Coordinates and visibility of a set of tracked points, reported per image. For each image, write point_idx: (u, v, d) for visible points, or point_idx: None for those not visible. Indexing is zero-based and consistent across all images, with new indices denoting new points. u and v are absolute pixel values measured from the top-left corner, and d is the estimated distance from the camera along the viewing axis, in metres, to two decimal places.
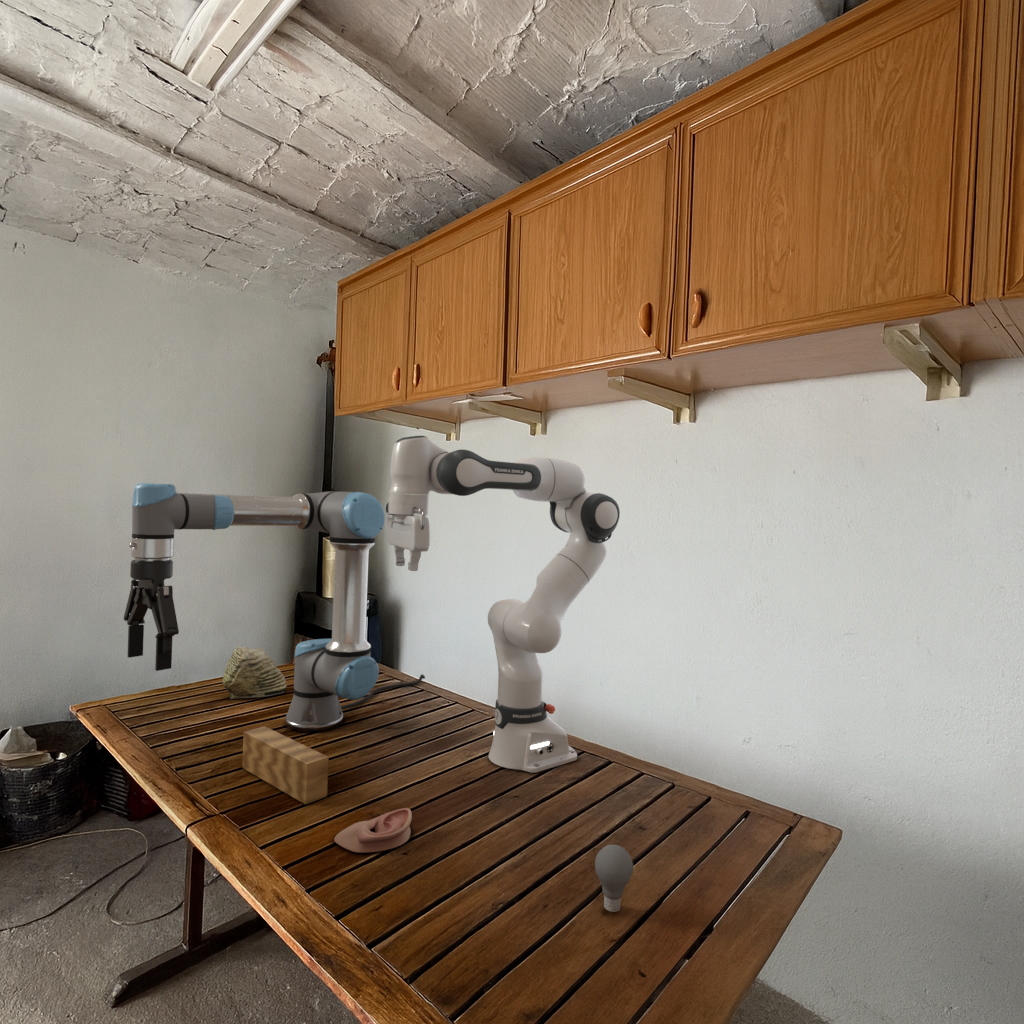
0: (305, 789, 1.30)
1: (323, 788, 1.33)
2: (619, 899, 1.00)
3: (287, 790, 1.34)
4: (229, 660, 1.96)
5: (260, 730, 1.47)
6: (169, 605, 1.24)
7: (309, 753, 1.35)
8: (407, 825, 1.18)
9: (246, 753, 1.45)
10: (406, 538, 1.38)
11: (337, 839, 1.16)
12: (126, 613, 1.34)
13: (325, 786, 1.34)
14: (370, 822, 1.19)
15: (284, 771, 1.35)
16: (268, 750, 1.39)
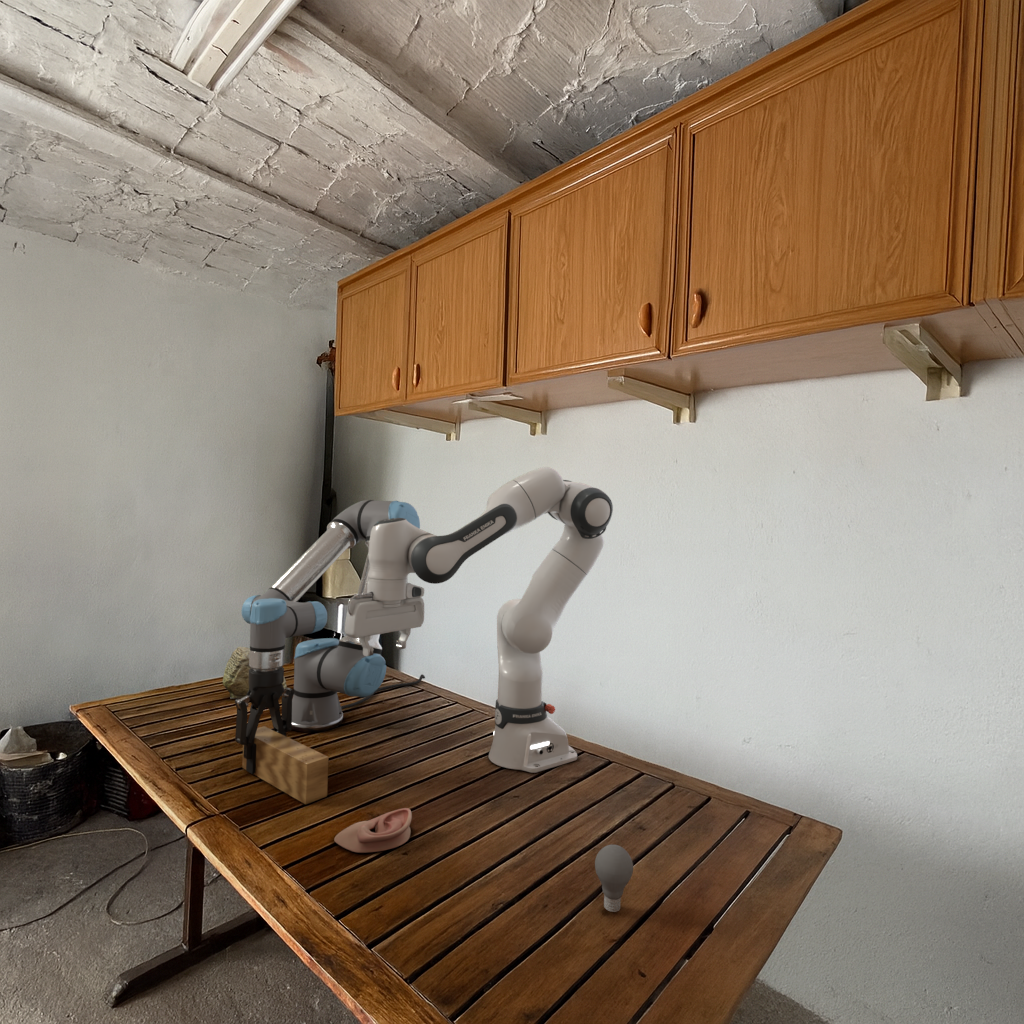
0: (305, 789, 1.30)
1: (323, 788, 1.33)
2: (619, 899, 1.00)
3: (287, 790, 1.34)
4: (229, 660, 1.96)
5: (260, 730, 1.47)
6: None
7: (309, 753, 1.35)
8: (407, 825, 1.18)
9: None
10: None
11: (337, 839, 1.16)
12: (243, 736, 1.40)
13: (325, 786, 1.34)
14: (370, 822, 1.19)
15: (284, 771, 1.35)
16: (268, 750, 1.39)
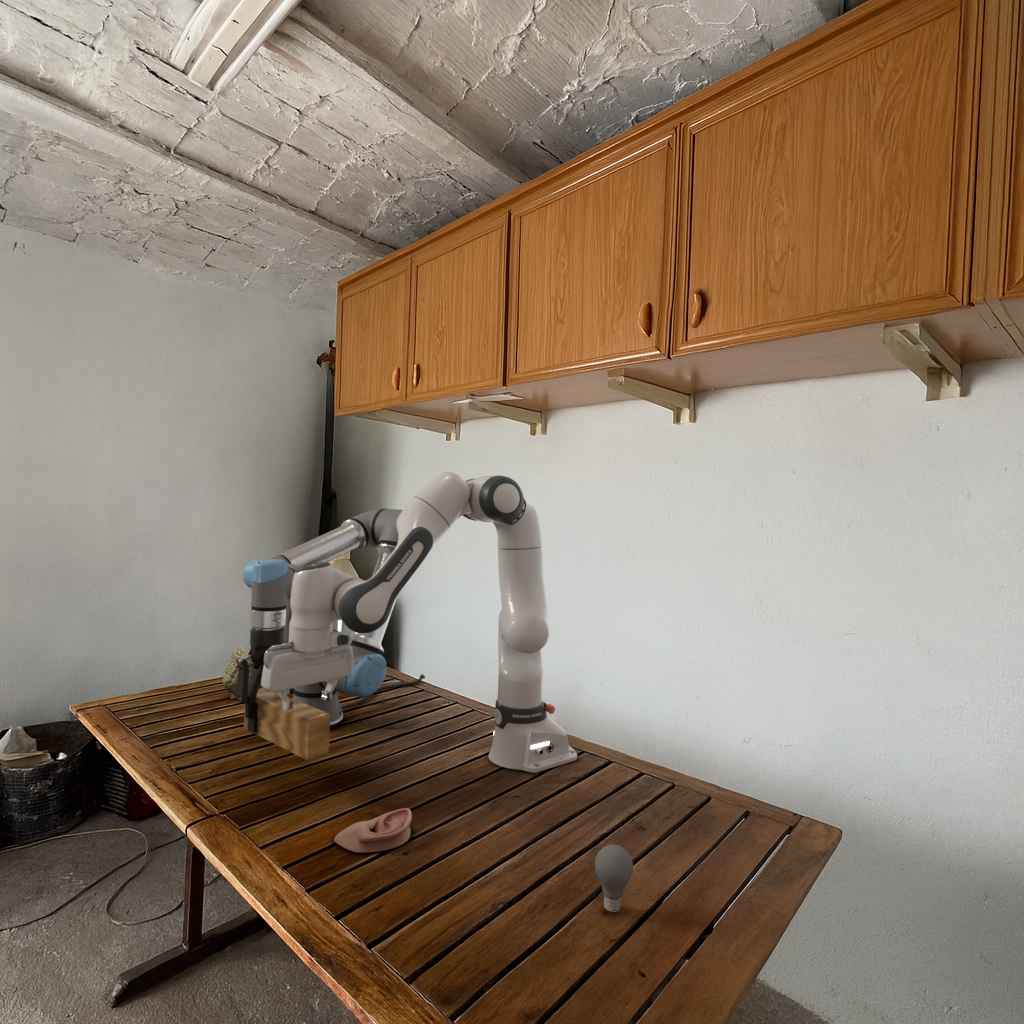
0: (307, 745, 1.30)
1: (325, 745, 1.33)
2: (619, 899, 1.00)
3: (289, 747, 1.34)
4: (229, 660, 1.96)
5: (262, 691, 1.47)
6: None
7: (311, 710, 1.35)
8: (407, 825, 1.18)
9: None
10: None
11: (337, 839, 1.16)
12: (245, 695, 1.40)
13: (327, 743, 1.34)
14: (370, 822, 1.19)
15: (286, 729, 1.35)
16: (269, 708, 1.39)
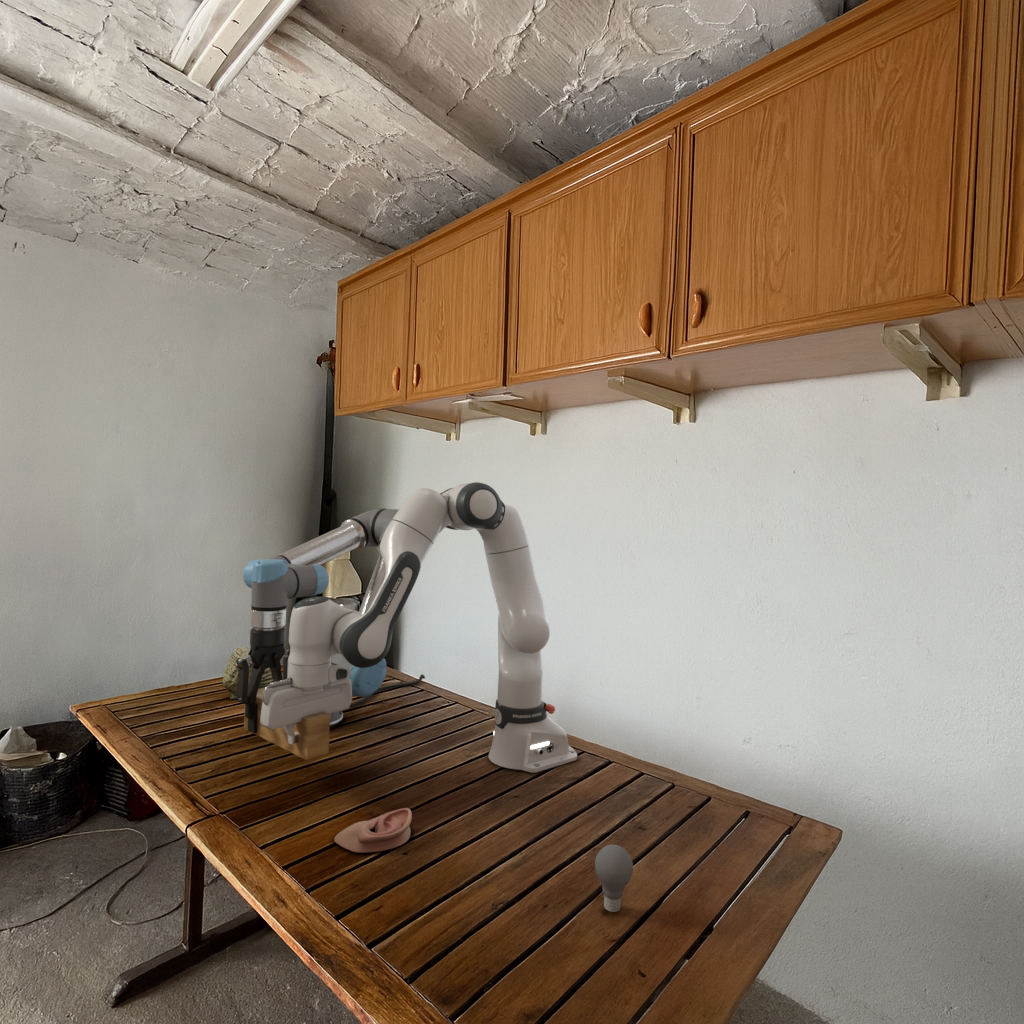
0: (307, 745, 1.30)
1: (324, 746, 1.33)
2: (619, 899, 1.00)
3: (288, 747, 1.34)
4: (229, 660, 1.96)
5: (262, 691, 1.47)
6: None
7: None
8: (407, 825, 1.18)
9: None
10: None
11: (337, 839, 1.16)
12: (244, 695, 1.40)
13: (326, 744, 1.34)
14: (370, 822, 1.19)
15: None
16: None
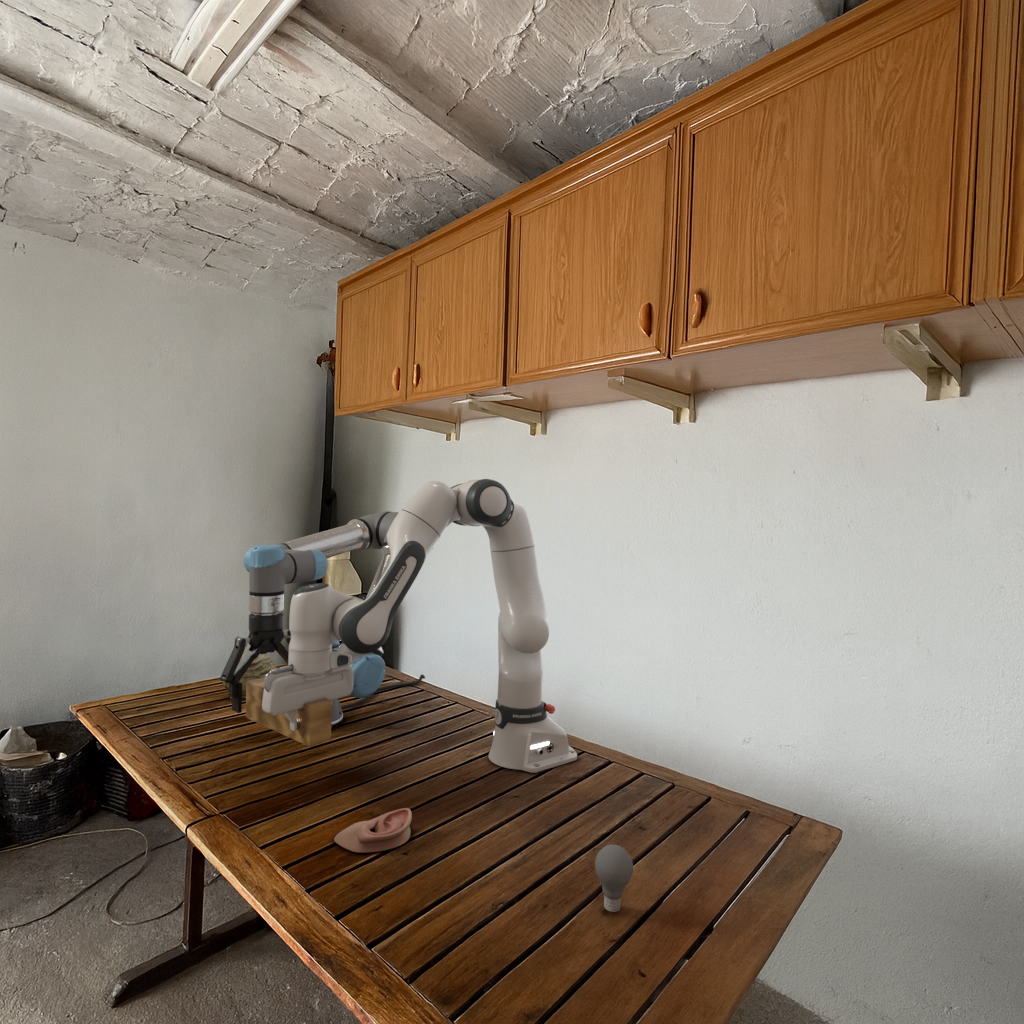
0: (309, 731, 1.30)
1: (327, 732, 1.33)
2: (619, 899, 1.00)
3: (291, 734, 1.34)
4: None
5: (263, 680, 1.47)
6: None
7: None
8: (407, 825, 1.18)
9: (249, 702, 1.45)
10: None
11: (337, 839, 1.16)
12: (230, 674, 1.38)
13: (329, 730, 1.33)
14: (370, 822, 1.19)
15: None
16: None
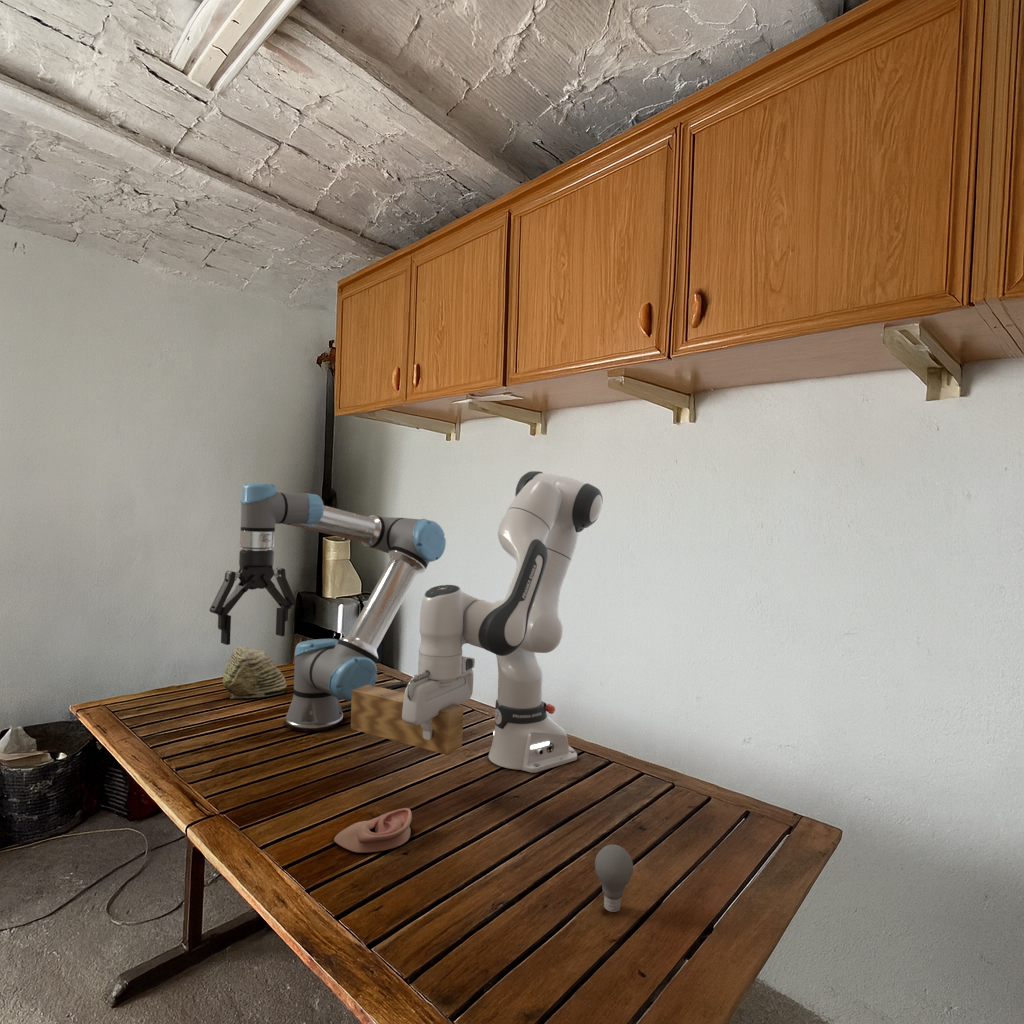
0: (447, 739, 1.25)
1: (459, 739, 1.28)
2: (619, 899, 1.00)
3: (420, 743, 1.28)
4: (229, 660, 1.96)
5: (368, 688, 1.38)
6: None
7: None
8: (407, 825, 1.18)
9: (356, 712, 1.36)
10: None
11: (337, 839, 1.16)
12: (219, 606, 1.40)
13: (461, 736, 1.29)
14: (370, 822, 1.19)
15: (415, 725, 1.29)
16: (390, 705, 1.32)
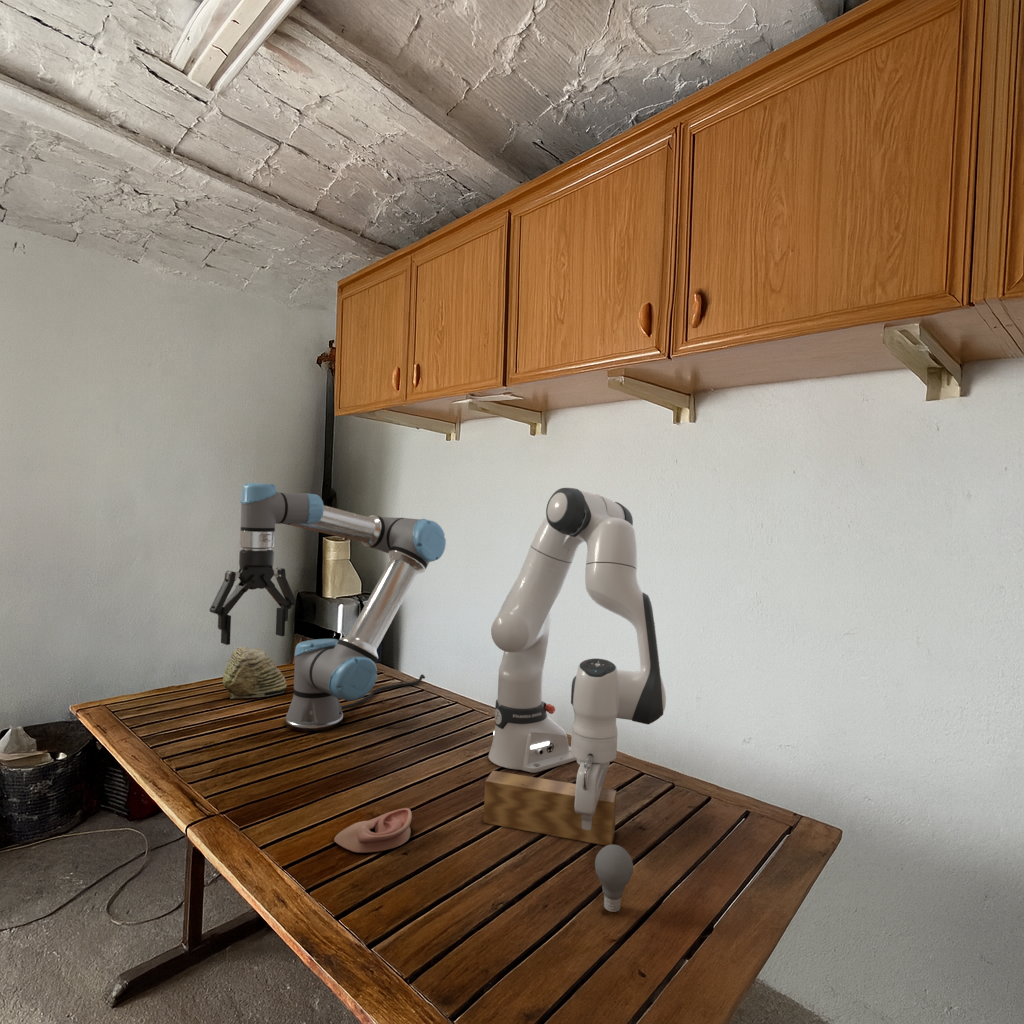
0: (610, 830, 1.19)
1: (614, 826, 1.23)
2: (619, 899, 1.00)
3: (576, 835, 1.21)
4: (229, 660, 1.96)
5: (499, 776, 1.28)
6: None
7: None
8: (407, 825, 1.18)
9: (492, 805, 1.25)
10: None
11: (337, 839, 1.16)
12: (219, 606, 1.40)
13: (614, 823, 1.24)
14: (370, 822, 1.19)
15: (570, 816, 1.21)
16: (536, 796, 1.23)
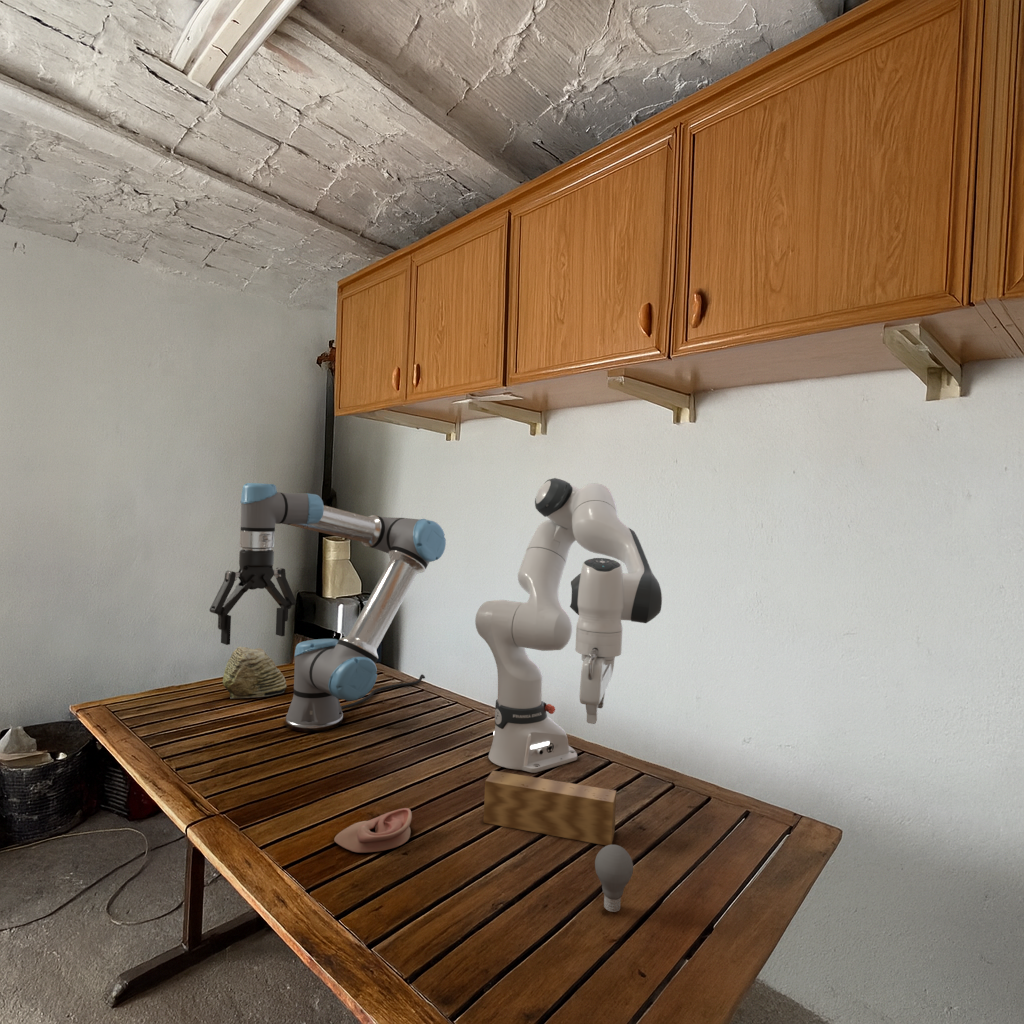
0: (610, 830, 1.19)
1: (614, 825, 1.23)
2: (619, 899, 1.00)
3: (576, 835, 1.21)
4: (229, 660, 1.96)
5: (499, 776, 1.28)
6: None
7: (593, 790, 1.24)
8: (407, 825, 1.18)
9: (492, 805, 1.25)
10: None
11: (337, 839, 1.16)
12: (219, 606, 1.40)
13: (614, 823, 1.24)
14: (370, 822, 1.19)
15: (570, 816, 1.21)
16: (536, 796, 1.23)
